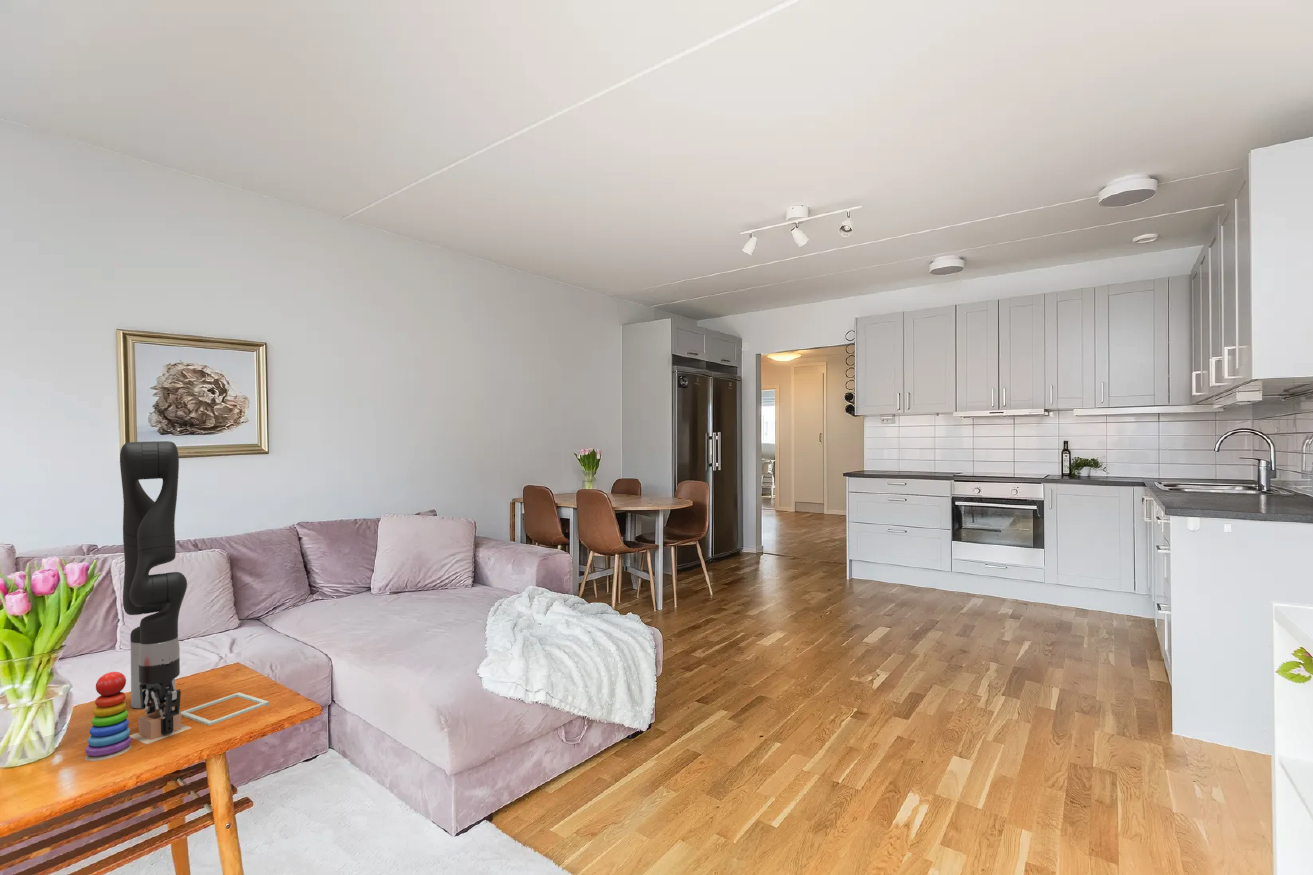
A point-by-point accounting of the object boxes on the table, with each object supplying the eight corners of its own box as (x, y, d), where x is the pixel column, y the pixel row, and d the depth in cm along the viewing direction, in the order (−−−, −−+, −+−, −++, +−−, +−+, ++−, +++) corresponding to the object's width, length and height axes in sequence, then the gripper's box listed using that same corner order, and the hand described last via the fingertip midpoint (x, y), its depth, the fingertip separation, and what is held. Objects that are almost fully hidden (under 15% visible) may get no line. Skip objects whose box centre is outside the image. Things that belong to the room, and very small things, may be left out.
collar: (138, 734, 144) (138, 717, 144) (173, 722, 151) (173, 705, 151) (151, 739, 142) (151, 722, 142) (186, 727, 148) (186, 710, 148)
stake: (127, 742, 144) (127, 707, 144) (172, 726, 152) (172, 693, 152) (146, 750, 139) (146, 715, 140) (191, 733, 147) (191, 700, 148)
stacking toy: (104, 769, 132) (103, 680, 132) (74, 766, 133) (73, 678, 133) (141, 751, 139) (141, 667, 140) (113, 748, 141) (112, 665, 141)
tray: (179, 720, 155) (178, 712, 155) (238, 699, 167) (238, 692, 167) (209, 731, 148) (209, 723, 148) (269, 709, 161) (268, 701, 161)
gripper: (125, 659, 146) (125, 731, 146) (155, 668, 139) (156, 744, 139) (162, 649, 153) (163, 718, 152) (193, 658, 146) (194, 730, 146)
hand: (160, 730), depth 146 cm, fingers closed on collar, 6 cm apart
